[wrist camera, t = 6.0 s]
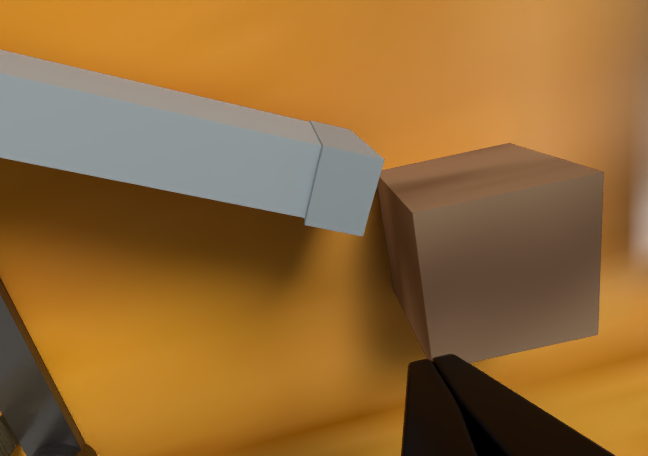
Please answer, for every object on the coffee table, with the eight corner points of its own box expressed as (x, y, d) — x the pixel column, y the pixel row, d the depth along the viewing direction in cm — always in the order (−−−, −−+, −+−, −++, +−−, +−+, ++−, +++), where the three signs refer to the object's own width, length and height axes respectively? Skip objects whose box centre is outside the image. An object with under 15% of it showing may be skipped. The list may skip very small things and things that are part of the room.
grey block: (-105, 87, 11) (-361, 94, 7) (-111, 21, 11) (-390, -16, 6) (336, 181, 13) (362, 236, 9) (349, 129, 13) (384, 159, 8)
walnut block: (513, 264, 16) (597, 334, 11) (393, 290, 16) (433, 370, 11) (507, 142, 14) (603, 171, 10) (374, 171, 14) (412, 213, 10)
